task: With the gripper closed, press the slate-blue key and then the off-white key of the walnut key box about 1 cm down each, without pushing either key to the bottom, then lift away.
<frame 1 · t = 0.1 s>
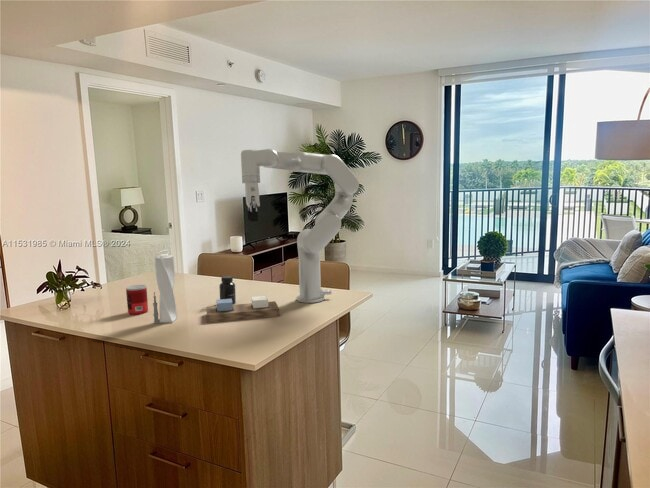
hand: (252, 220, 203), 37 cm above the table, tool pointing down, fingers open, 9 cm apart
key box: (242, 315, 192), on the table
canned food: (138, 312, 200), on the table
slate blue key: (224, 305, 190), point 5 cm above the table, slide at 0.0 cm
skyscraper: (167, 321, 187), on the table
off white key: (259, 302, 193), point 5 cm above the table, slide at 0.0 cm
supplement bottle: (228, 304, 210), on the table
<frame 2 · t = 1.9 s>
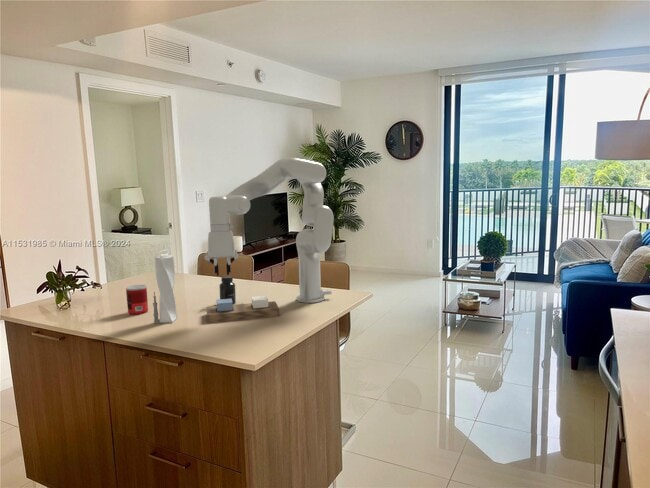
hand: (222, 274, 188), 17 cm above the table, tool pointing down, fingers open, 3 cm apart
nothing on the table moved.
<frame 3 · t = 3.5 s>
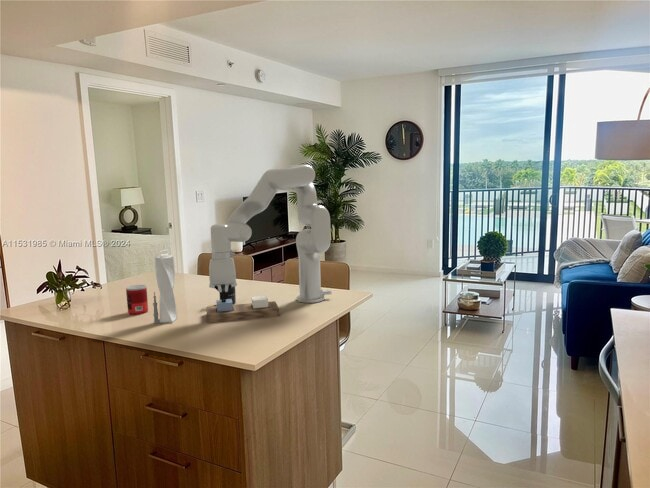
hand: (223, 301, 190), 6 cm above the table, tool pointing down, fingers closed
slate blue key: (224, 305, 190), point 5 cm above the table, slide at 0.1 cm, touching gripper
everything else where it was.
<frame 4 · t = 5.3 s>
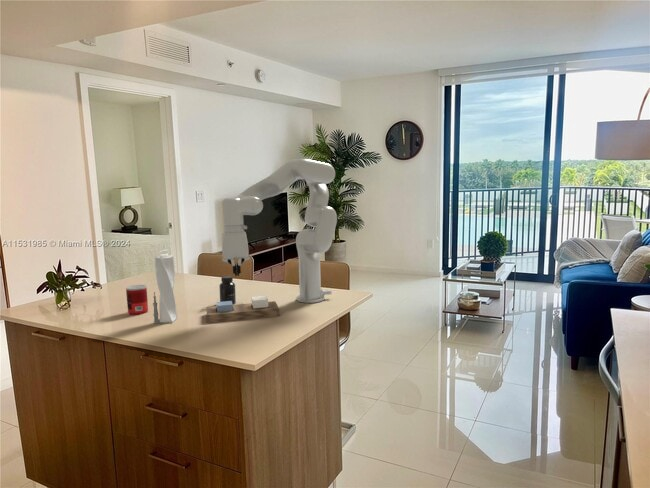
hand: (237, 275, 190), 16 cm above the table, tool pointing down, fingers closed
slate blue key: (224, 307, 190), point 4 cm above the table, slide at 0.9 cm
everything else where it was.
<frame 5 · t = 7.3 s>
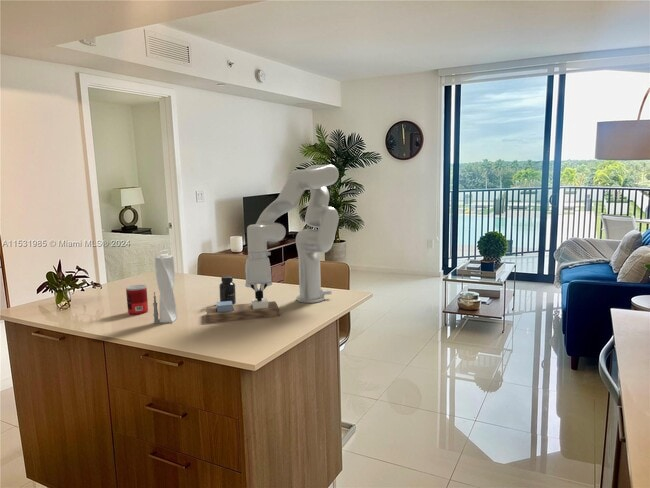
hand: (259, 300, 193), 6 cm above the table, tool pointing down, fingers closed
off white key: (259, 304, 193), point 4 cm above the table, slide at 0.9 cm
everything else where it was.
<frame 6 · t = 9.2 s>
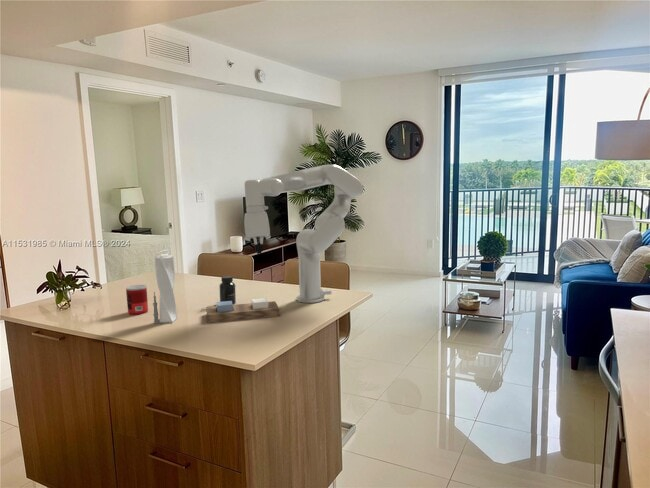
hand: (259, 253, 200), 23 cm above the table, tool pointing down, fingers closed
nothing on the table moved.
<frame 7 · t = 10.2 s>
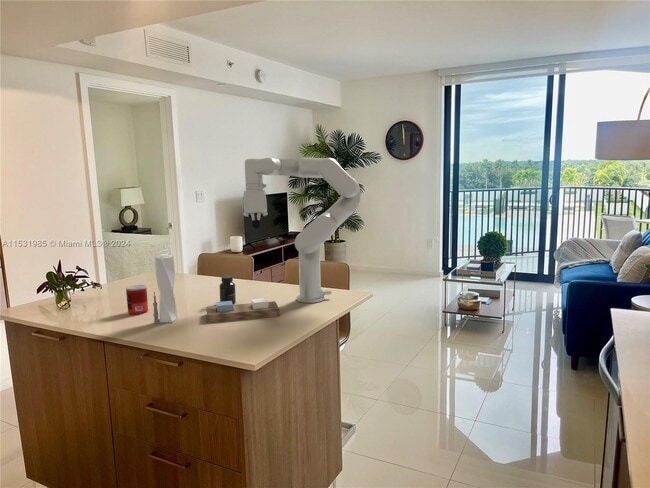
hand: (256, 228, 212), 32 cm above the table, tool pointing down, fingers closed
nothing on the table moved.
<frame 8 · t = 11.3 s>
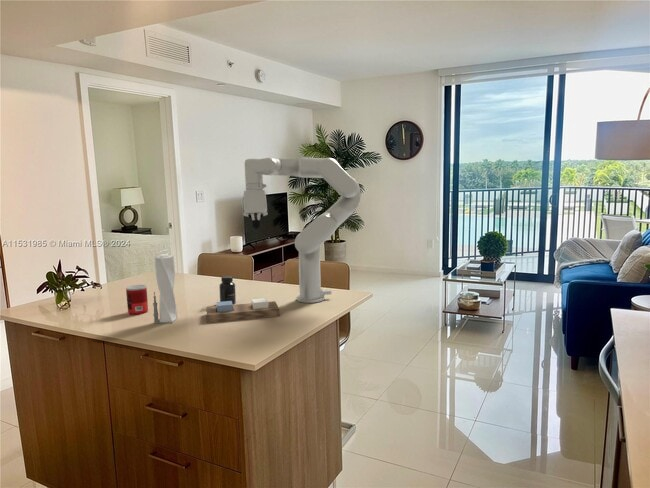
hand: (256, 228, 212), 32 cm above the table, tool pointing down, fingers closed
nothing on the table moved.
at the end: slate blue key slide at 0.9 cm; off white key slide at 0.9 cm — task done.
